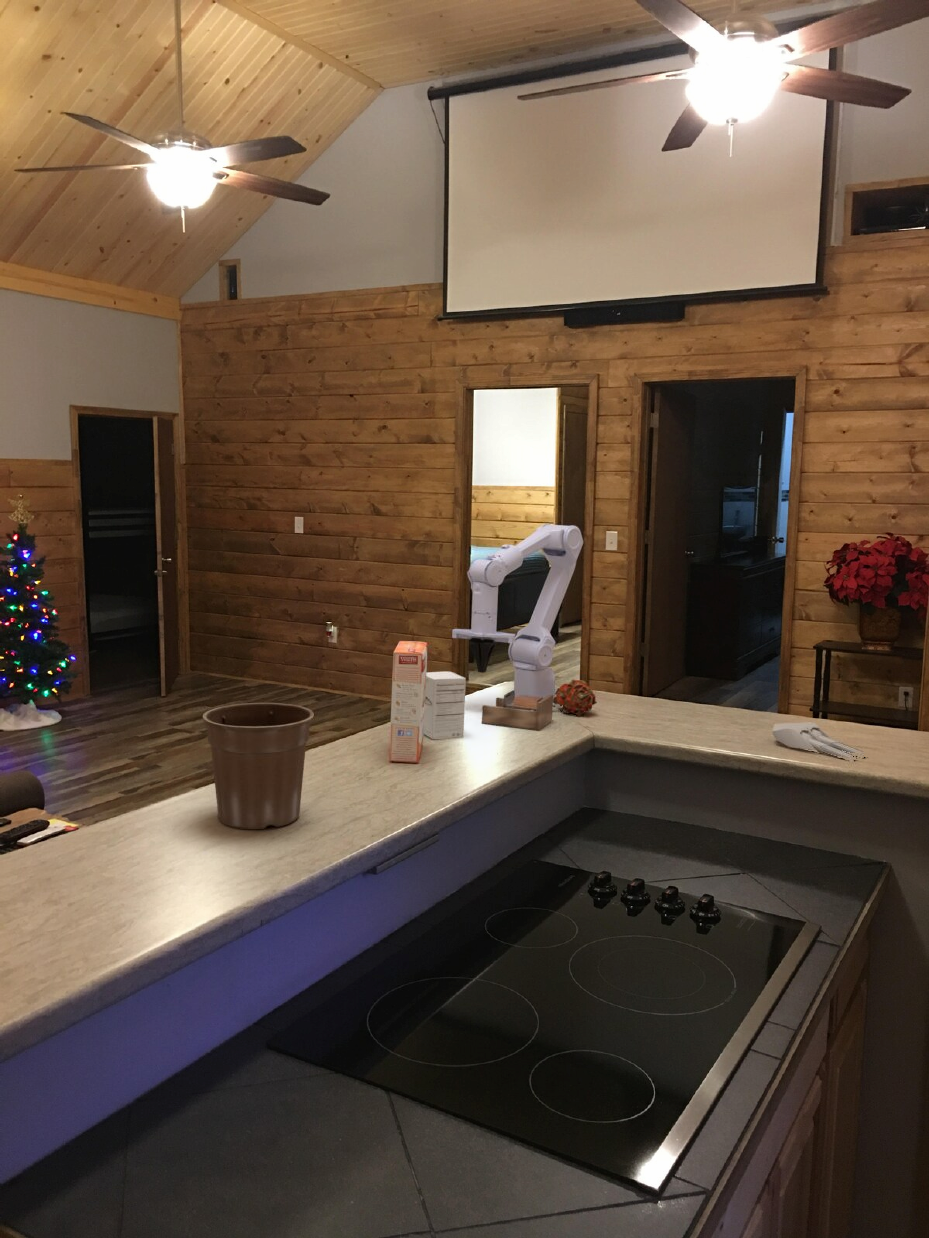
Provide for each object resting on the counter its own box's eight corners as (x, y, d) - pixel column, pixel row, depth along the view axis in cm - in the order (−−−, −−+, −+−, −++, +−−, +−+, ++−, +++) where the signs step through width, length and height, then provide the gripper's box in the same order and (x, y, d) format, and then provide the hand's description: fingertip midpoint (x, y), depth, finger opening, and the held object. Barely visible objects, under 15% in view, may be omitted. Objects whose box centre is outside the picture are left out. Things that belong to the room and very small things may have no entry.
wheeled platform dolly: (501, 715, 218) (502, 695, 217) (512, 709, 225) (513, 689, 224) (535, 720, 215) (536, 699, 215) (545, 713, 222) (546, 692, 222)
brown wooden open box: (481, 723, 218) (482, 696, 218) (496, 714, 228) (497, 688, 227) (538, 730, 214) (540, 703, 213) (551, 721, 223) (553, 694, 222)
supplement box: (417, 731, 209) (419, 672, 208) (449, 729, 212) (452, 670, 211) (431, 740, 203) (433, 678, 201) (464, 737, 206) (466, 677, 204)
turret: (846, 775, 197) (851, 753, 196) (759, 739, 211) (763, 718, 210) (869, 767, 204) (875, 745, 203) (783, 732, 218) (788, 712, 217)
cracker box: (420, 764, 185) (424, 652, 182) (388, 762, 185) (391, 651, 182) (425, 745, 199) (428, 640, 196) (394, 743, 199) (397, 639, 196)
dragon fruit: (589, 725, 227) (557, 722, 237) (611, 701, 231) (578, 698, 241) (570, 697, 224) (538, 695, 234) (593, 673, 228) (561, 671, 238)
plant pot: (184, 830, 145) (184, 721, 143) (225, 797, 161) (226, 698, 159) (293, 839, 143) (295, 729, 141) (324, 805, 159) (326, 705, 157)
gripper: (448, 611, 226) (446, 671, 227) (509, 617, 221) (506, 677, 222) (459, 608, 232) (457, 666, 234) (519, 613, 227) (516, 672, 229)
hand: (482, 671), depth 229 cm, fingers closed
